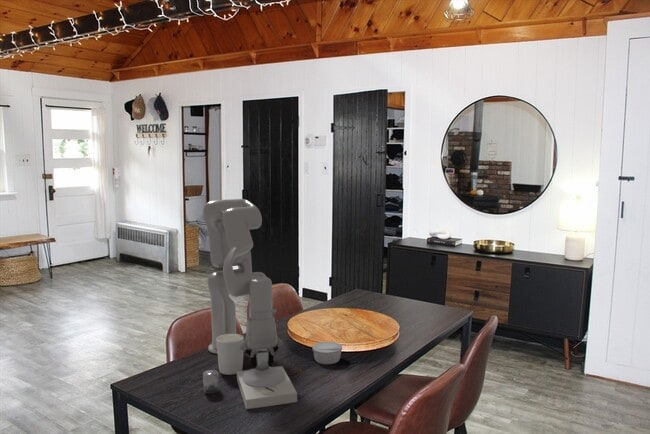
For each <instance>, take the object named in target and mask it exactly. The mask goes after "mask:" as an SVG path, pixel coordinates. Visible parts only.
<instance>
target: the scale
mask: <svg viewBox="0 0 650 434" xmlns="http://www.w3.org/2000/svg"><path fill="white" fill-rule="evenodd" d="M236 382H237V384H238V387H239V391H240V394H241V397H242V401H243V404H244V407H245V410H250V409H258V408H265V407H271V406H272V407H273V406H278V405H285V404H287V405H288V404H293V403H297V402H298V392H297V390H296V389H295V386H294V384H293V383H292V380H291V379H290V377H289V376H288V374H287V372H286V370H285V369H284V366H282V365H280V366H272V367H270V366H269V369H268V370H265V371H258V370H255V369H253V368H250V369H246V370H242V371H237V374H236Z"/></svg>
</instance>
